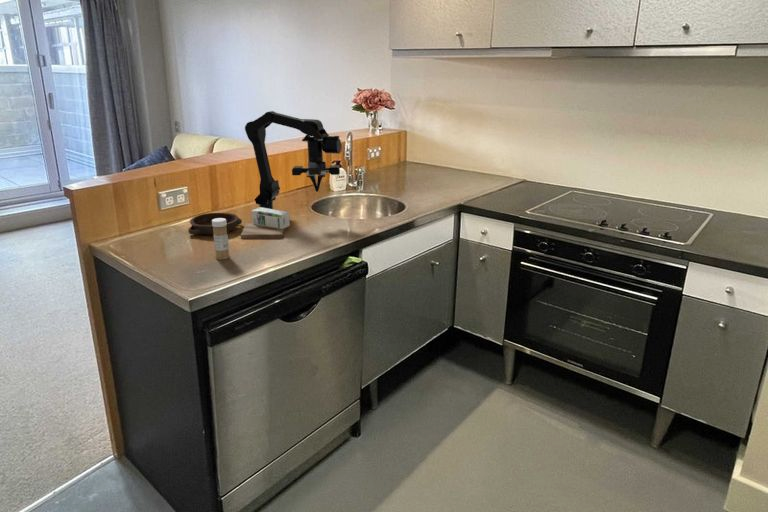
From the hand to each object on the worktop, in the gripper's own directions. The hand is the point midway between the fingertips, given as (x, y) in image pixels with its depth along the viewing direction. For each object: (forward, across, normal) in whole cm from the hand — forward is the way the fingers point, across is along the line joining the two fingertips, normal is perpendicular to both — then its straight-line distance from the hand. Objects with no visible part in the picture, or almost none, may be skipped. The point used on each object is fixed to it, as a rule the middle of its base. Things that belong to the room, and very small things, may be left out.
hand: (317, 191), depth 213 cm
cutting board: (+12, -20, -14) cm, 27 cm away
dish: (+12, -39, -12) cm, 43 cm away
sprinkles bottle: (+12, -29, -42) cm, 53 cm away
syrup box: (+8, -11, -14) cm, 19 cm away
